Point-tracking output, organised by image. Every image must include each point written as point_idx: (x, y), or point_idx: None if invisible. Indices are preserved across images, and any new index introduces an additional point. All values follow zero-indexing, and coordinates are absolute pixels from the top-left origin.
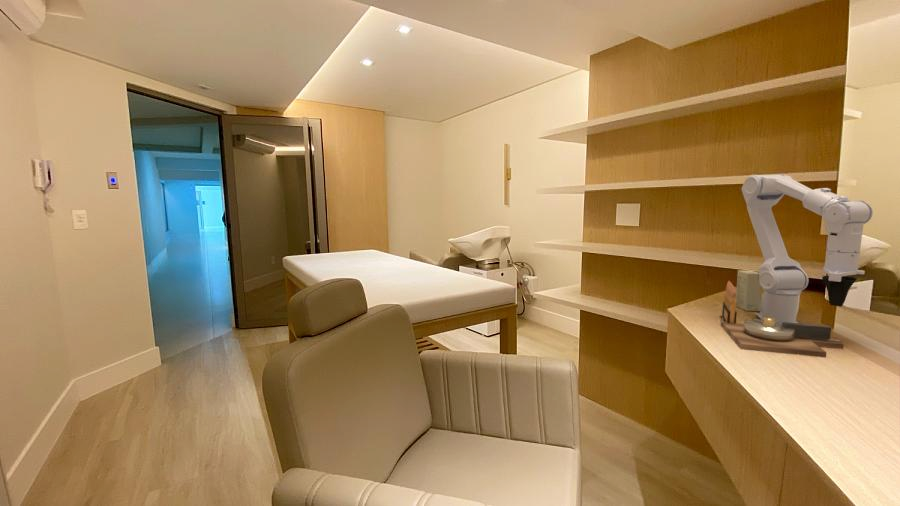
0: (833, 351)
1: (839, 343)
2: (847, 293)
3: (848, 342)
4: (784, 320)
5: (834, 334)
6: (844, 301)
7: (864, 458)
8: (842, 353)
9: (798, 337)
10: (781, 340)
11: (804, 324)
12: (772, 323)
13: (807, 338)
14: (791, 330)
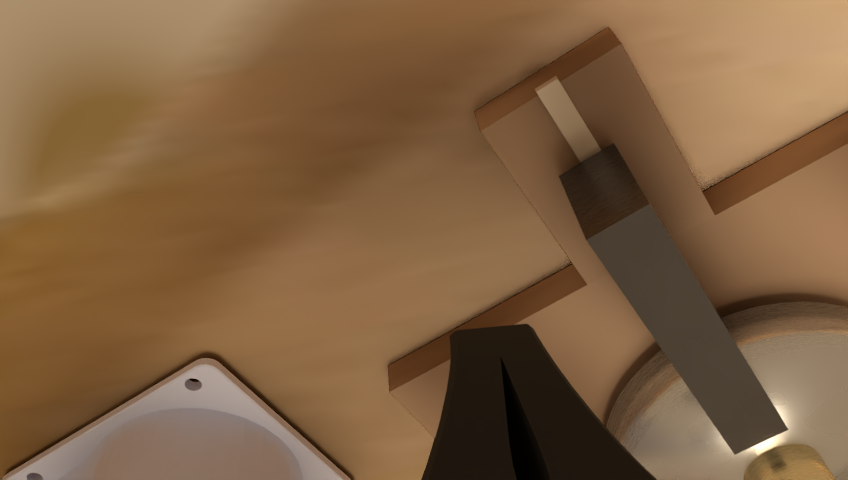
0: (733, 60)
1: (620, 70)
2: (452, 454)
3: (349, 40)
4: (277, 462)
5: (181, 167)
6: (465, 363)
7: None
8: (744, 2)
9: None
10: None
11: (700, 353)
12: (831, 475)
13: None
14: (823, 360)
